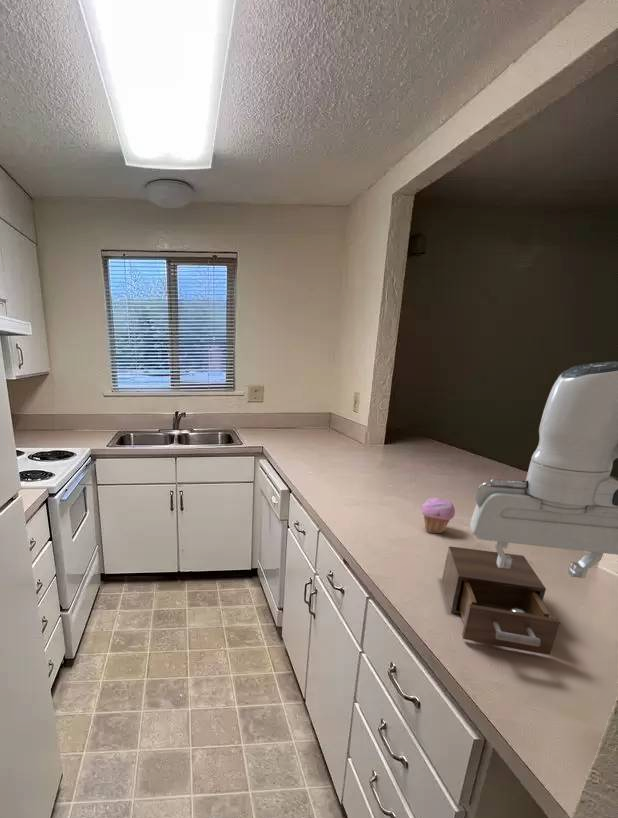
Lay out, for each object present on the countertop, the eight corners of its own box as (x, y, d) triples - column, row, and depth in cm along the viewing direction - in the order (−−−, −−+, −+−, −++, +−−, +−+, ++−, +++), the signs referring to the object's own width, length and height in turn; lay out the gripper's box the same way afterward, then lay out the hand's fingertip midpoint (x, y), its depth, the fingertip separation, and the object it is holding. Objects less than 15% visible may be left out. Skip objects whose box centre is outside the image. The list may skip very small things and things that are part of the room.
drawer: (559, 673, 71) (571, 639, 68) (467, 655, 75) (475, 622, 73) (527, 613, 87) (535, 583, 84) (452, 601, 91) (458, 572, 89)
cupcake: (416, 523, 133) (421, 492, 130) (447, 526, 131) (453, 495, 127) (420, 534, 125) (425, 502, 122) (453, 538, 123) (460, 505, 119)
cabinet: (534, 627, 84) (546, 588, 81) (450, 613, 89) (458, 576, 86) (514, 590, 97) (523, 555, 94) (442, 579, 101) (448, 546, 98)
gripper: (485, 483, 61) (466, 570, 66) (668, 497, 55) (631, 592, 60) (475, 472, 67) (458, 553, 71) (639, 483, 61) (608, 571, 65)
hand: (538, 571), depth 66 cm, fingers open, 8 cm apart
